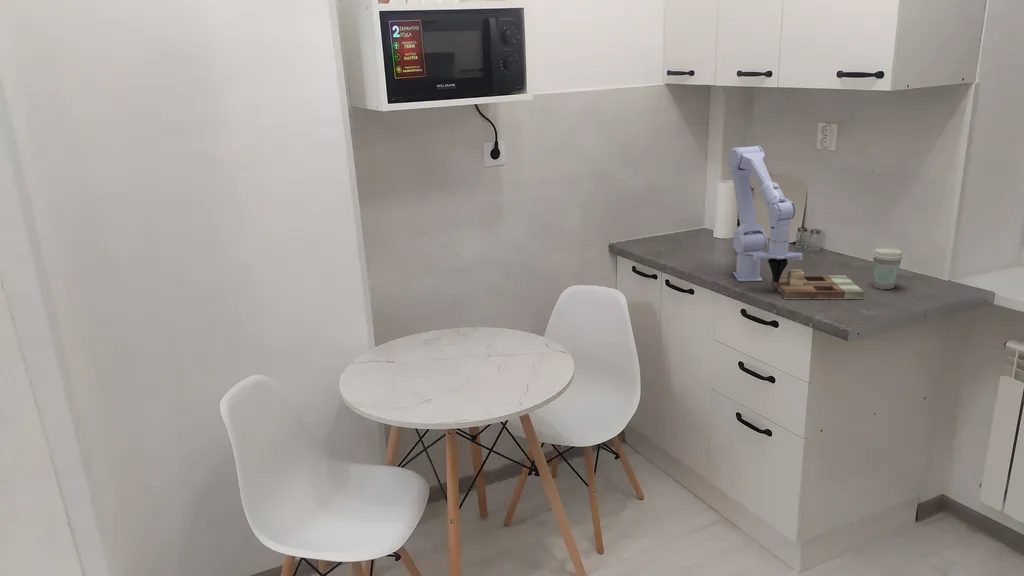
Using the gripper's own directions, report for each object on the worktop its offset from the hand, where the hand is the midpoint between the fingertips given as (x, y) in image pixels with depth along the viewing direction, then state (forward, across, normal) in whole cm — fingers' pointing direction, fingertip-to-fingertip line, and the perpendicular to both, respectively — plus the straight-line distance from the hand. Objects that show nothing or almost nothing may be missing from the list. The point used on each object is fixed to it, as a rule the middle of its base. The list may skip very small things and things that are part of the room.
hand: (775, 281), depth 226 cm
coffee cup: (+3, +34, +4) cm, 35 cm away
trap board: (+3, +12, 0) cm, 13 cm away
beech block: (+1, +6, 0) cm, 6 cm away
